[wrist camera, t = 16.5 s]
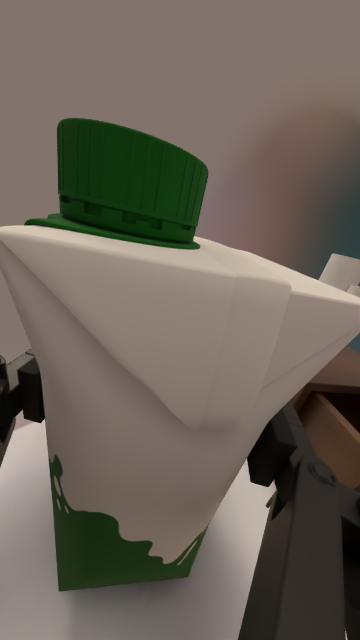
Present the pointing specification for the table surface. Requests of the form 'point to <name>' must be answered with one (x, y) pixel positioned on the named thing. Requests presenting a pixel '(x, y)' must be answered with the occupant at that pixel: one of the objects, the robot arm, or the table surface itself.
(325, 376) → the cabinet
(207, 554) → the table surface
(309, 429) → the drawer
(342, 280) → the vase
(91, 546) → the soya milk
